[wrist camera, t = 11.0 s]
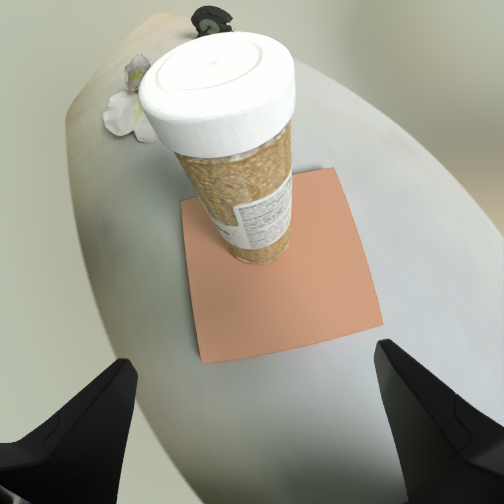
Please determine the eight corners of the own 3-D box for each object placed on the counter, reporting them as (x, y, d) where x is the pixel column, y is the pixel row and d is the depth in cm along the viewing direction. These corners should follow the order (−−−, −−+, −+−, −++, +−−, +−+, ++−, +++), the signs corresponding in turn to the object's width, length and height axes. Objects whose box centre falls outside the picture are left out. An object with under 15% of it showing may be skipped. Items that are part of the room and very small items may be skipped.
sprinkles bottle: (215, 223, 19) (124, 66, 7) (272, 195, 20) (247, 17, 7) (243, 280, 18) (150, 143, 5) (305, 247, 18) (330, 70, 5)
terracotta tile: (378, 325, 17) (383, 324, 16) (206, 363, 17) (202, 364, 16) (332, 174, 21) (333, 167, 20) (185, 206, 21) (180, 201, 20)
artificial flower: (250, 44, 31) (256, -7, 21) (166, 167, 28) (142, 120, 18) (196, 31, 30) (192, -18, 20) (106, 144, 28) (70, 101, 18)
